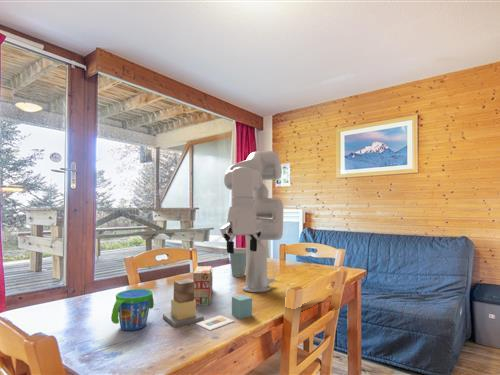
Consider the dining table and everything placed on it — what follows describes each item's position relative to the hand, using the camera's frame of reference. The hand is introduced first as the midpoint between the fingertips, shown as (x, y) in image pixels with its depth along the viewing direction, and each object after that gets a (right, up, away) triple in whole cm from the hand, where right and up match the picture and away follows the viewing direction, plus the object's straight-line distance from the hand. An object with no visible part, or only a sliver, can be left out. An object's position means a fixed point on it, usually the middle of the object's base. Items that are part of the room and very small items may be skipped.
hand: (242, 252), depth 105 cm
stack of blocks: (-16, -23, +20) cm, 34 cm away
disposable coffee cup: (-3, -25, +57) cm, 63 cm away
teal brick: (0, -22, -1) cm, 22 cm away
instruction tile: (-8, -21, -8) cm, 24 cm away
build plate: (-19, -21, -5) cm, 29 cm away
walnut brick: (-19, -15, -5) cm, 25 cm away
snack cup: (-33, -21, -12) cm, 41 cm away
